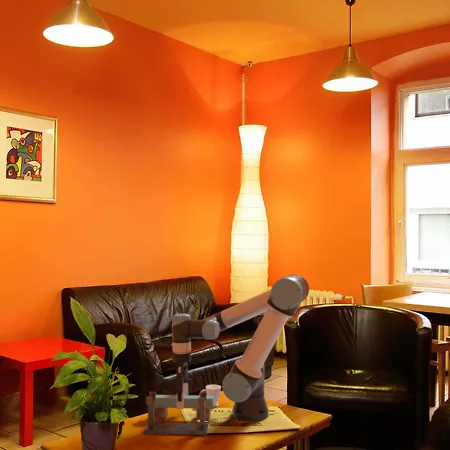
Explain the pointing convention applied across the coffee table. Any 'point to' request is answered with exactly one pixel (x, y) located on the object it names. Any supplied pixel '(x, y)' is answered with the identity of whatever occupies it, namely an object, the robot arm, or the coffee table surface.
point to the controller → (120, 428)
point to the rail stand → (176, 427)
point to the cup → (213, 392)
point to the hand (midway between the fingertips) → (182, 403)
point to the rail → (189, 401)
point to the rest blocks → (162, 414)
